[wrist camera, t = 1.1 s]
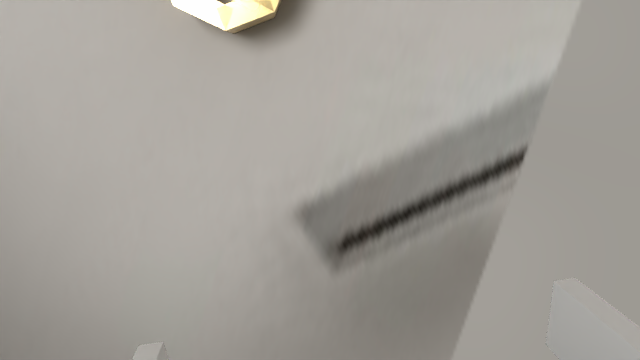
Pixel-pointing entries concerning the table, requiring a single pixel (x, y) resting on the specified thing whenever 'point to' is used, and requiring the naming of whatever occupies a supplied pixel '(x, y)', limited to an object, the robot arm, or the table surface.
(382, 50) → the table surface
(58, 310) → the table surface
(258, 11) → the ring
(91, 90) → the table surface
